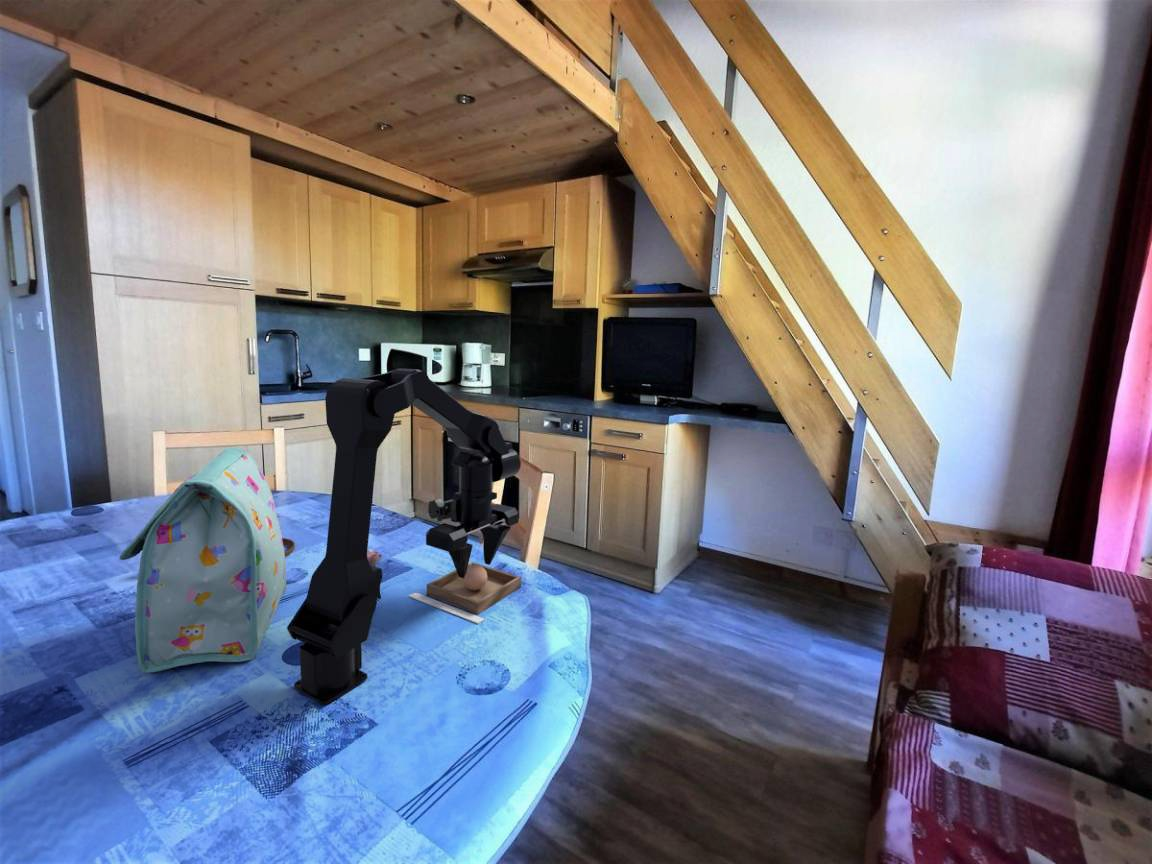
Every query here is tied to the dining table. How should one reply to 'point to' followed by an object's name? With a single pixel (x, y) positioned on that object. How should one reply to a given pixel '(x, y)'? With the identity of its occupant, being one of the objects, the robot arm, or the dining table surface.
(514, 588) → the tray
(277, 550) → the lunch bag
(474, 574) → the ball
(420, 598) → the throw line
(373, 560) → the video game controller
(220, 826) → the dining table surface
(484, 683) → the dining table surface
